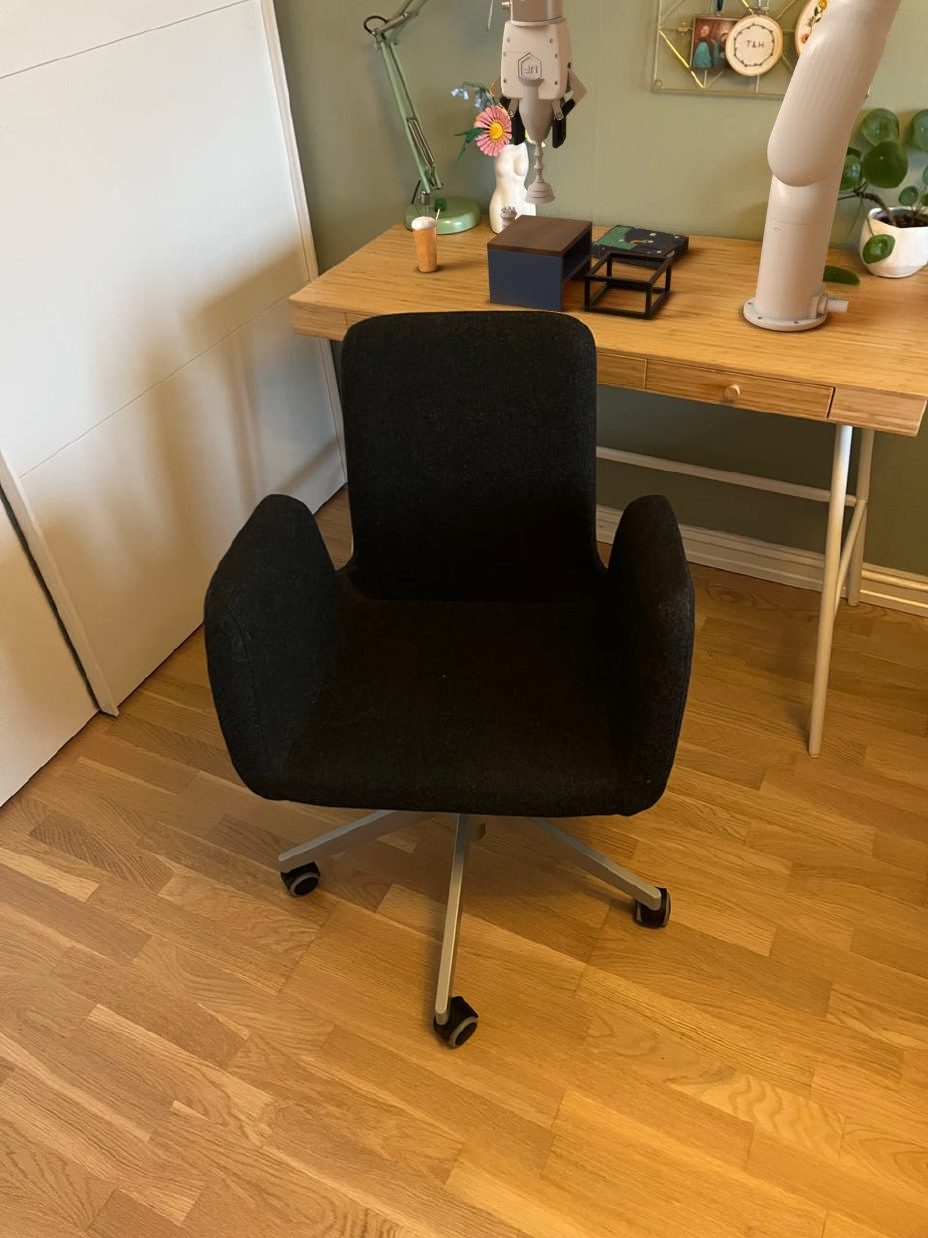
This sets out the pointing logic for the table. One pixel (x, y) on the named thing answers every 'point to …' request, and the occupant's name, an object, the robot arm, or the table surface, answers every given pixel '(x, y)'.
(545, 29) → the robot arm
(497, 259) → the shelf
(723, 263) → the table surface
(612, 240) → the disk drive
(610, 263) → the cup rack
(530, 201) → the chalice
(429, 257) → the milkshake
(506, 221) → the rook chess piece
